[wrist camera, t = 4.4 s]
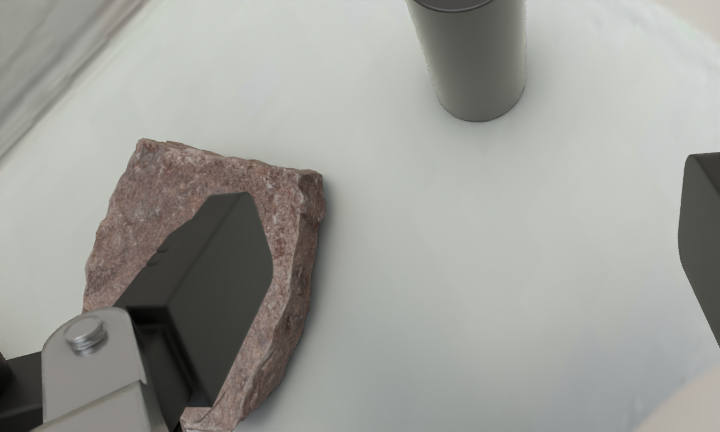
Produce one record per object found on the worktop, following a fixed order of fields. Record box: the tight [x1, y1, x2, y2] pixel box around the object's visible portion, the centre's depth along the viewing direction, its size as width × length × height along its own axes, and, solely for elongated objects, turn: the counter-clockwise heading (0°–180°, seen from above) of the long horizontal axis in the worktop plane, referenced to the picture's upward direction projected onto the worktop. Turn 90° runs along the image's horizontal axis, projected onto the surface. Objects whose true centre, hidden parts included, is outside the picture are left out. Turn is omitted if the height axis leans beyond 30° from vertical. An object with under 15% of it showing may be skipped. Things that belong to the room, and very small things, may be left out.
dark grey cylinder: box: [406, 0, 526, 122], centre depth 23 cm, size 4×4×9 cm
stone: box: [82, 138, 326, 432], centre depth 26 cm, size 12×9×5 cm
